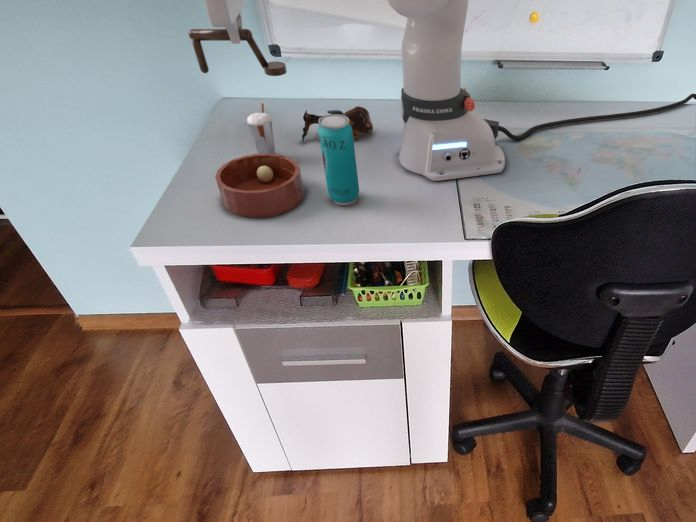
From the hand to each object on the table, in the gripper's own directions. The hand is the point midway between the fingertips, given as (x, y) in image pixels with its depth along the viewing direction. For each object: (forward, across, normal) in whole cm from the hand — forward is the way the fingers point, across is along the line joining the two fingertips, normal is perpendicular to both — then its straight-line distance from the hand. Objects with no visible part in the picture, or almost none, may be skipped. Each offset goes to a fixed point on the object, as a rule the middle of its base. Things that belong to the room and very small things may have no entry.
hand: (238, 39), depth 106 cm
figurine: (+19, -2, -17) cm, 26 cm away
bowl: (+19, -28, -4) cm, 34 cm away
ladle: (+6, 0, 0) cm, 6 cm away
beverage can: (+19, -29, -19) cm, 40 cm away
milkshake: (+19, -12, -3) cm, 22 cm away
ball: (+17, -23, -4) cm, 29 cm away
